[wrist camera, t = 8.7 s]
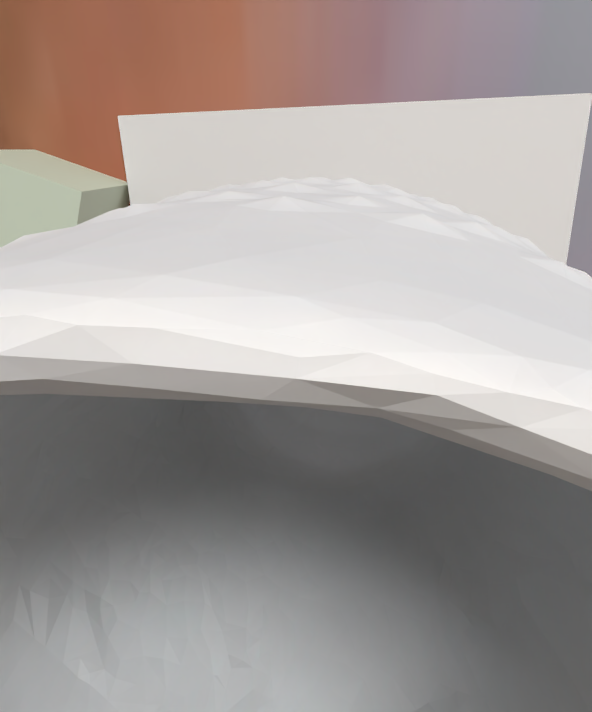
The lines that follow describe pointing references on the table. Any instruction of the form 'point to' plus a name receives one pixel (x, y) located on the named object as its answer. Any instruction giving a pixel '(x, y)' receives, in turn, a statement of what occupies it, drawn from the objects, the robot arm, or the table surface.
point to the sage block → (51, 194)
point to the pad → (383, 154)
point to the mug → (294, 459)
